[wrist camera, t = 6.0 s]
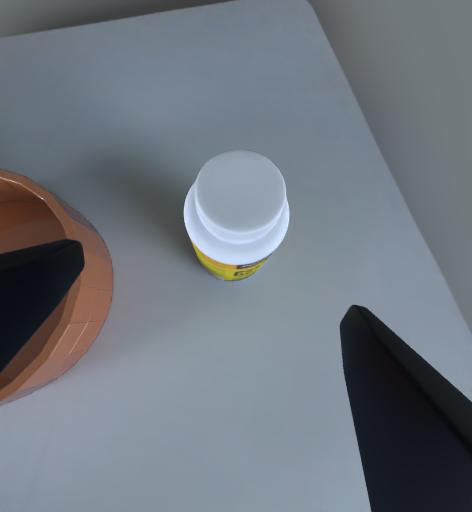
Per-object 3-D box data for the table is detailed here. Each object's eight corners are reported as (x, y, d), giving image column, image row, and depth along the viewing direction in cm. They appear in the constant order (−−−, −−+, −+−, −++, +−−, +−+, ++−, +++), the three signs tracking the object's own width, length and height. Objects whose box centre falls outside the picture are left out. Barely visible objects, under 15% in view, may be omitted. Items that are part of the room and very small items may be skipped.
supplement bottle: (230, 297, 20) (239, 282, 10) (183, 247, 20) (145, 186, 10) (278, 249, 21) (331, 192, 11) (232, 204, 21) (241, 110, 11)
